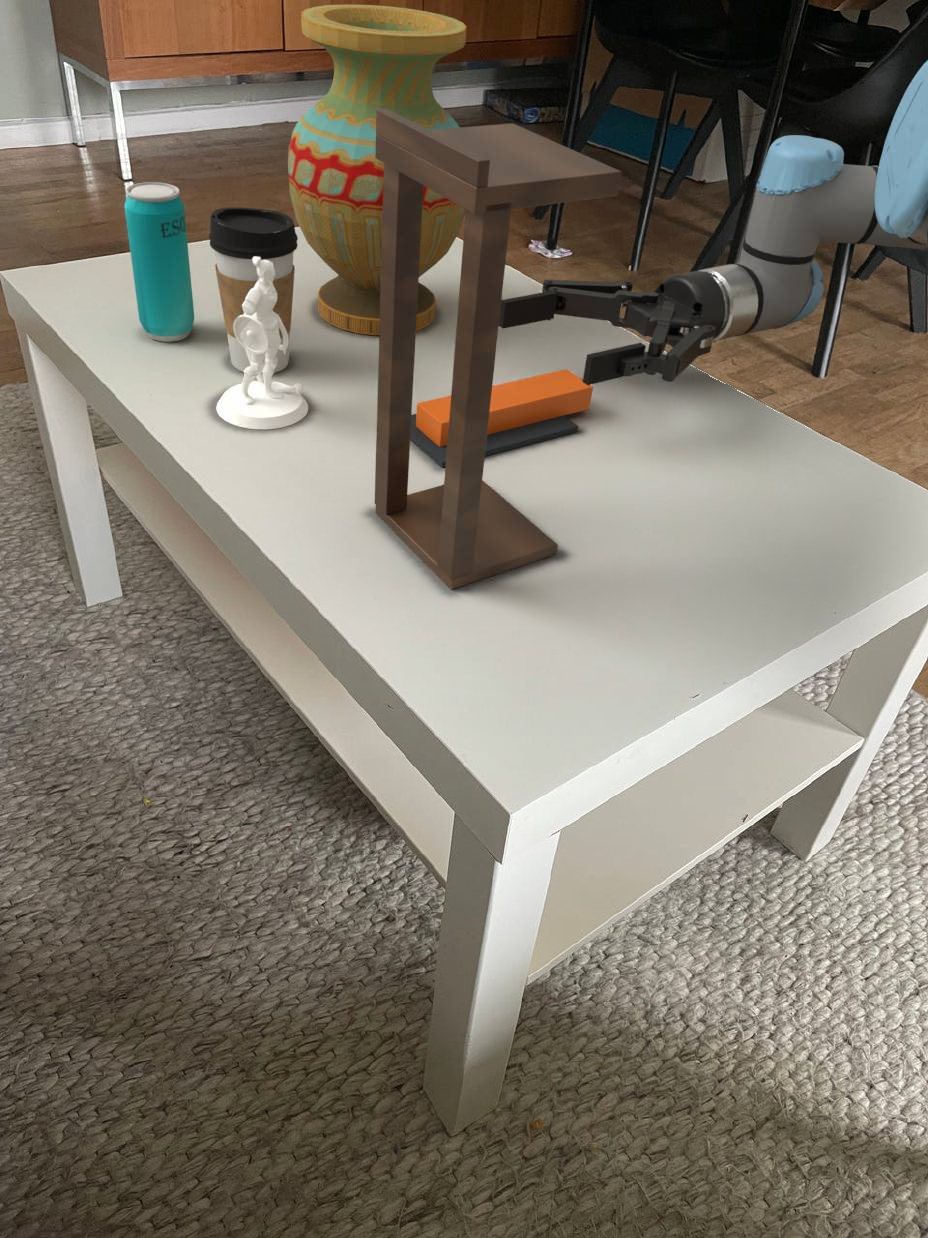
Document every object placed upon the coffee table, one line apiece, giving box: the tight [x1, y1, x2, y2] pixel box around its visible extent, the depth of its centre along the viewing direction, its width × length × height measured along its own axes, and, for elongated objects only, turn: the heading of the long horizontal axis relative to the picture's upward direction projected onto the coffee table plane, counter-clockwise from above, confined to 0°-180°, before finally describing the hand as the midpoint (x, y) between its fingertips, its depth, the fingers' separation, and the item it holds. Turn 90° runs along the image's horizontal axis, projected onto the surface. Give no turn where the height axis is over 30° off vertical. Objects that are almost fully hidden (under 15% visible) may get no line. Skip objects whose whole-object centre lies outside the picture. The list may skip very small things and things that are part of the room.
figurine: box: [216, 256, 309, 430], centre depth 93 cm, size 9×9×15 cm
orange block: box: [415, 368, 594, 447], centre depth 98 cm, size 18×4×2 cm, turn 123°
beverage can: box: [124, 181, 195, 343], centre depth 105 cm, size 6×6×15 cm
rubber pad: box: [410, 413, 579, 468], centre depth 98 cm, size 16×9×1 cm, turn 123°
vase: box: [287, 3, 467, 336], centre depth 109 cm, size 20×20×30 cm
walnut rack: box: [374, 109, 623, 590], centre depth 74 cm, size 11×12×32 cm
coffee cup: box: [208, 206, 298, 375], centre depth 101 cm, size 8×8×15 cm
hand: (542, 341), depth 96 cm, fingers open, 13 cm apart
